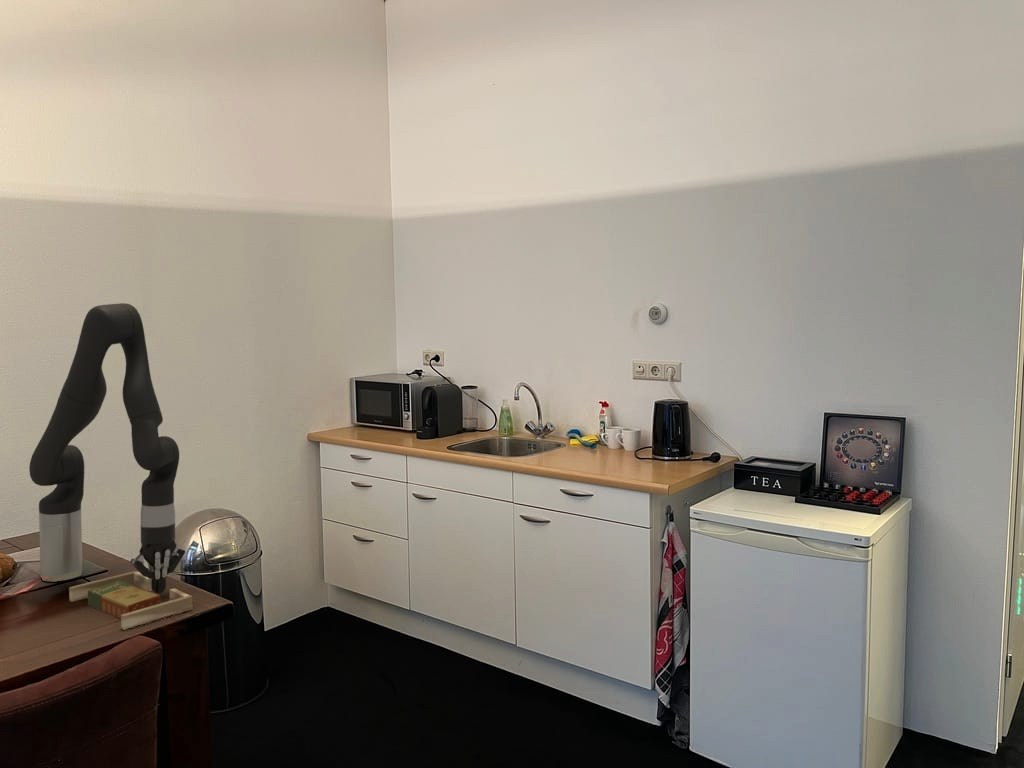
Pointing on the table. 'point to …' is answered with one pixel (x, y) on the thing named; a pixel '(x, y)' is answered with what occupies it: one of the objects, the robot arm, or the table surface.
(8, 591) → the table surface
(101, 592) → the carton
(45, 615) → the table surface
